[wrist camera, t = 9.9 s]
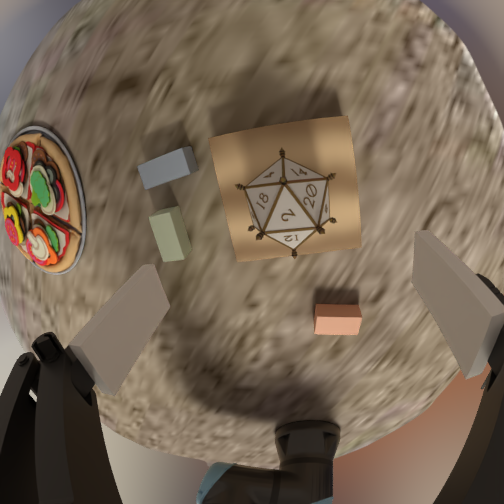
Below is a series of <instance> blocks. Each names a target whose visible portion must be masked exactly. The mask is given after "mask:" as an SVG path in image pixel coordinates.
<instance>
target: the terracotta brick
mask: <svg viewBox="0 0 504 504" xmlns="http://www.w3.org/2000/svg"><path fill="white" fill-rule="evenodd" d="M361 320H362V315H361V311H360V308H359V305H340V304H316V308H315V315H314V334H330V335H358V332H359V328H360V324H361Z"/></svg>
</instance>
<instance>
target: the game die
mask: <svg viewBox="0 0 504 504" xmlns="http://www.w3.org/2000/svg"><path fill="white" fill-rule="evenodd" d="M279 153H280V154H279V155H280V156H281V158H280V159H279V160H277V161H276V162H275V163H273V164H272V165H271V166H270V167H268V168H267V169H266V170H265V171H263V172H262V173H261V174H260V175H258V176H257V177H256V178H255V179H253V180H252V181H251V182H250V183H249V184H247V185H246V186H243V184H240V183H239V184H235V187H236V188H237V190H238V189H240V190H244V193H245V197H246V200H247V204H248V208H249V212H250V215H251V219H252V223H253V225H251V226H249V228H248V231H253V230H255V228H256V229H257V230H258V231H259V233H258V234H257V235H256V240H262V238H264V237H263V236H264V235H265V236H267V237H269V238H271V239H272V240H274V241H276V242H278V243H280V244H282V245H284V246H286V247H288V248H290V249H292V255H291V256H293V258H294V259H295V258H296V257H297V252H296V249H297V248H298V247H299V246H300V245H302V244H303V243H304V242H305V241H306V240H307V239H309V238H310V237H311V236H312V235H313V234H314V233H316V232H318V233H319V234H325V229H324V228H322V226H324V225H325V224H326V223H327V222H328V221H330V222H331V223H333V224H334V223H337V221H336V219H335V218H333V217H332V218H330V199H329V180H332V179H335V176H336V173H331V174H329V175H328V176H327V177H325V176H323V175H321V174H319V173H317V172H315V171H313V170H311V169H309V168H307V167H305V166H303V165H301V164H298V163H296V162H294V161H292V160H290V159H288V158H285V151H284V150H283V148H282V147H281V149H280V151H279Z"/></svg>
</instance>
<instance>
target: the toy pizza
mask: <svg viewBox="0 0 504 504" xmlns="http://www.w3.org/2000/svg"><path fill="white" fill-rule="evenodd" d="M0 196H1V203H2V210H3V214H4V218H5V227H6V231H7V234H8V236H9V238H10V240H11V242H12V243H13V244H14V245H16V246H17V247H18V249H19V250H20V251H21V252H22V253H23V255H24V256H25V257H26V258H27V259H28V260H29V261H30V262H31V263H32V264H33V265H34V266H36V267H37V268H39V269H40V270H42V271H44V272H46V273H49V274H55V275H59V274H64V273H66V272H68V271H70V270H71V269H72V268H73V267H74V266H75V265H76V263H77V262H78V260H79V258H80V256H81V254H82V251H83V247H84V243H85V236H86V211H85V202H84V196H83V191H82V187H81V182H80V179H79V176H78V173H77V170H76V167H75V165H74V162H73V160H72V158H71V156H70V154H69V152H68V151H67V149H66V147H65V146H64V144H63V143H62V142H61V140H60V139H59V138H58V137H57V136H56V135H55V134H54V133H52V132H51V131H50V130H48V129H46V128H44V127H41V126H29V127H26V128H24V129H22V130H21V131H19V132H18V133H17V134H16V135H15V136H14V138H13V139H12V140H11V142H10V144H9V146H8V148H7V149H6V151H5V155H4V157H3V159H2V163H1V168H0Z"/></svg>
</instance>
